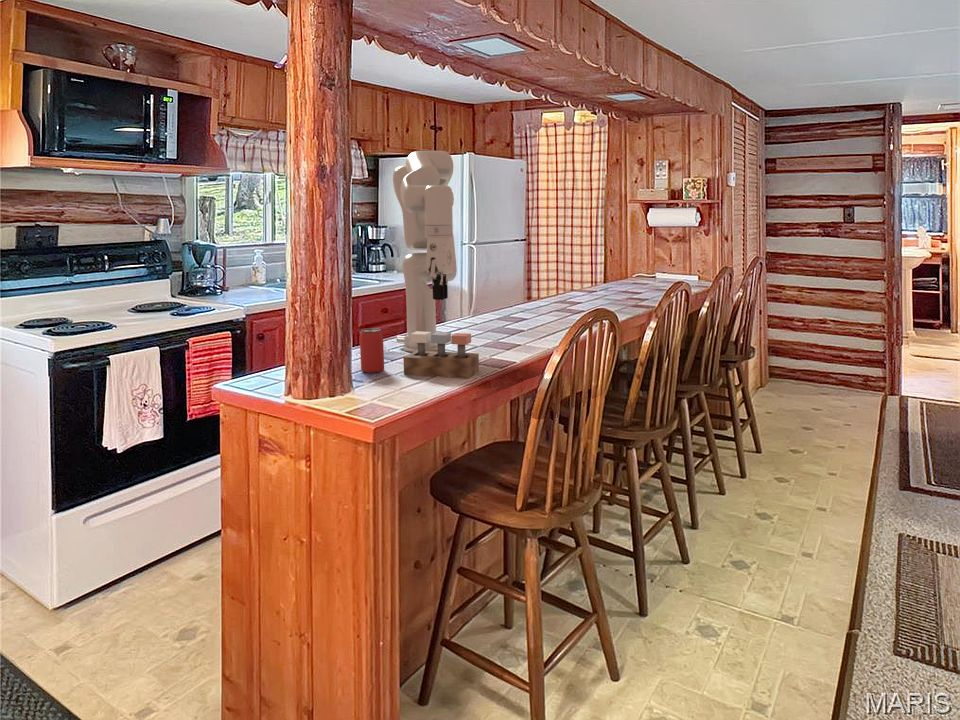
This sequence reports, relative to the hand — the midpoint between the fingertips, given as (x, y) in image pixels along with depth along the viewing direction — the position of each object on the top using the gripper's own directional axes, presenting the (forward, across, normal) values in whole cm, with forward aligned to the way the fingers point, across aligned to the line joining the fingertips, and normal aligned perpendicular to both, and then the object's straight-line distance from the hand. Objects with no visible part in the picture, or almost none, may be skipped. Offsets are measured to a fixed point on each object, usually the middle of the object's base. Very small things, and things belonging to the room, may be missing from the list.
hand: (440, 298), depth 199 cm
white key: (+17, 0, +6) cm, 18 cm away
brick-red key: (+17, 0, -6) cm, 18 cm away
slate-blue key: (+17, 0, 0) cm, 17 cm away
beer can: (+21, -3, +20) cm, 29 cm away
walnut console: (+21, 0, 0) cm, 21 cm away
